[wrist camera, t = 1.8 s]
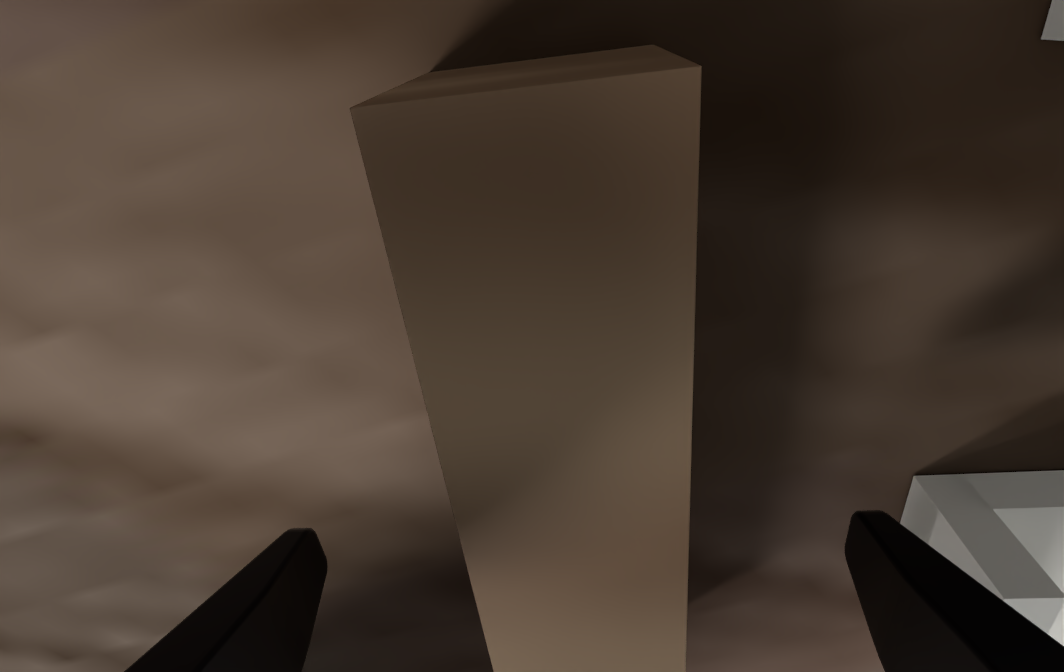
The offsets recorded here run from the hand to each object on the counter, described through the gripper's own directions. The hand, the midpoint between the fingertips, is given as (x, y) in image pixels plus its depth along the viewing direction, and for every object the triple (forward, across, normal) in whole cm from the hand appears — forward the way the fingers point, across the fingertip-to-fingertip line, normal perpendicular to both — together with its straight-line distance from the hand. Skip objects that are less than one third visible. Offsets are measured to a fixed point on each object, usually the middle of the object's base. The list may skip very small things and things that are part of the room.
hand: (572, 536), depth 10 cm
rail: (+3, 0, 0) cm, 3 cm away
